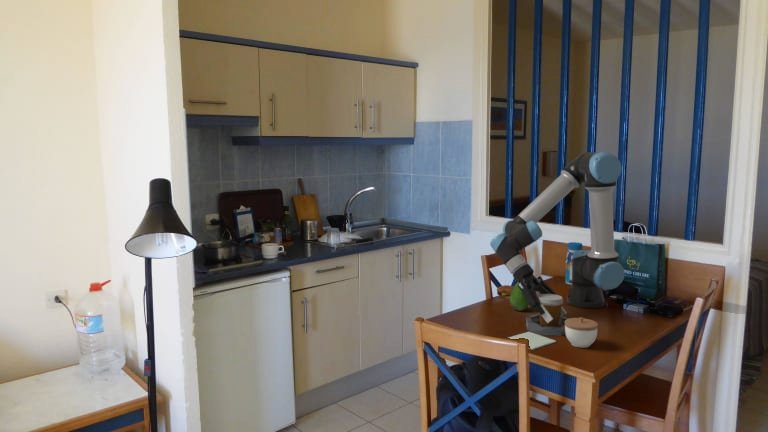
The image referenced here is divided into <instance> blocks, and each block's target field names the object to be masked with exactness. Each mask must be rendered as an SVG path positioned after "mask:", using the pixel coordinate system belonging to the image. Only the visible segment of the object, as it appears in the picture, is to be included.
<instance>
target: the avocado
mask: <svg viewBox="0 0 768 432" xmlns="http://www.w3.org/2000/svg"><path fill="white" fill-rule="evenodd" d="M520 283H521V282H520ZM520 283H518V282H516V283H515V284H514V286H513V287H514V288H513V290H512V292H511V295H510V299H509V304H510V306H511V307H512V308H513V309H514V310H516V311H519V312H520V311H521V312H522V311H525V310H526V309H527V308H528V307H529V304H528V302H527V300H526V299H525V297H524V295H523V293H522V291H521V290H520V289H519V288H518V285H519V284H520Z"/></svg>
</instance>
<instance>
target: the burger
mask: <svg viewBox="0 0 768 432" xmlns="http://www.w3.org/2000/svg"><path fill="white" fill-rule="evenodd" d="M513 288H514V286H513V285H505V284H504V285H501V286H499V287H497V288H496V293H497V295H498V297H499V298H501V299H502V298H503V299H505V300H510V295H511V292H512V290H513Z"/></svg>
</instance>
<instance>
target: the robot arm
mask: <svg viewBox="0 0 768 432" xmlns="http://www.w3.org/2000/svg"><path fill="white" fill-rule="evenodd" d="M621 174H622V164H621V161H620V160H619V158H618V157H617V156H616V155H614V154H613V153H610V152H606V151H597V152H596V151H595V152H593V151H588V152H583V153H581V154H579V155H577V157H575V158H574V159H573V160H572V161H571V162H569V163H568V164H567V165H566V166H564V168H563V169H562V170H561V171H560V175H559V176H558V177H557V178H555V180H554V181H552V183H550V184H549V185H548V187H546V188H545V190H543V191H542V192H541V193H540V194H539V195H538V196H536V198H535V199H533V200H532V201H531V203H529V204H528V205H527V206H526V207H525V208H524V209H523V210H522V211H521V212H520V213H519V214H518V215H517V216H515V217H514V218H513V219H512V220H507V221H506V222H505V223H504V224H502V225H503V226H502V232H501V233H498V234H497V235H495V236H494V237H493V238H492V239H491V241H490V243H489V244H490V245H489V246H490V247H491V248H492V250H493V251H494V253H495V254H496V255H497V257H498V258H499V260H501V262H502V263H503V265H504V266H505V267H506V268H507V270H508V271H509V273H510V274H511V275H512V277H513V279H514V280H515V281H516V283H520V282H521V283H520V284H519V285H518V288H519V289H520V290H521V291H522V293H523V295H524V297H525V299H526V300H527V302H528V304H529V305H528V307H530V308H532V309H533V310H537V312H538V314H539V313H540V314H541V315H542V317H543V318H544V319H545V321H546V322H547V323H549V322H550V321H551V320H553V318H552V316H551V315H550V314H549V312H548V311H547V310H546V308H545V307H544V306H543V304H541V305H540V302H539V299H538V294H537V292H538V293H539V294H555V295H558V294H557V293H556V291H555V290H553V288H552V287H550V286H549V285H548V284H547V283H546V282H545V281H544V279H543V278H542V276H540V275H539V276H538V277H536V276H535V275H534V273H535V272H534V271H535V270H534V269H533V267H531V265H530V264H529V263H528V260H526V259H525V257H524V256H523V255H522V253H520V252H521V251H522V250H523V249H525V248H527V247H529V246H530V245H532V244H533V243H535V242H537V241H539V239H540V238H542V237H543V231H542V229H541V227H540V226H539V224H538V222H540V220H541V219H543V217H545V216H546V215H547V213H549V212H550V211H551V210H552V209H553V208H554V207H555V206H556V205H557V204H558V203H559V202H560V201H562V200H563V199H564V198H565V197H566V196H567V195H569V193H570V192H572V190H573V189H575V188H576V189H577V188H579V187H580V186H581V185H583V184H584V188H585V189H586V190H587V191H588V201H589V203H588V204H589V205H588V206H589V225H590V226H589V227H590V249H589V250H588V249H587V250H586V249H585V250H583V249H582V251H575V252H574V253H573V258H572V285H570V289H569V291H568V294H567V297H566V303H567V304H568V305H571V306H573V307H577V308H584V309H599V308H602V307H605V303H606V301H605V297H604V293H603V290H606V291H607V290H608V291H609V290H613V289H616V288H618V287H619V286H620V285H621V284H622V283H623V281H624V278H625V272H626V271H625V269H624V267H623V266H622V264H621V263H620V262H619V261H620V258H619V257H620V256H619V253H618V252H617V251H615V236H614V204H613V203H614V201H613V190H614V189H615V188H616V187H617V180H618V179H619V177H620V176H621ZM602 289H603V290H602ZM566 314H567V311H566V310H565V309H564V307H563V306H562V307H561V313H560V317H562V316H563V317H564V316H565V315H566Z"/></svg>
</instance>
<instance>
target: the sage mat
mask: <svg viewBox="0 0 768 432" xmlns="http://www.w3.org/2000/svg"><path fill="white" fill-rule="evenodd" d="M508 338H510V339H519V338H525V339H528V340H529V346H530V348H529V350H537V349H540V348H543V347H545V346H549V345H553V344H555V343H557V340H555V339H552V338H549V337H546V336H544V335H540V334H537V333H534V332H531V331H527V332H523V333H519V334H516V335H512V336H509V337H508Z"/></svg>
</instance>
